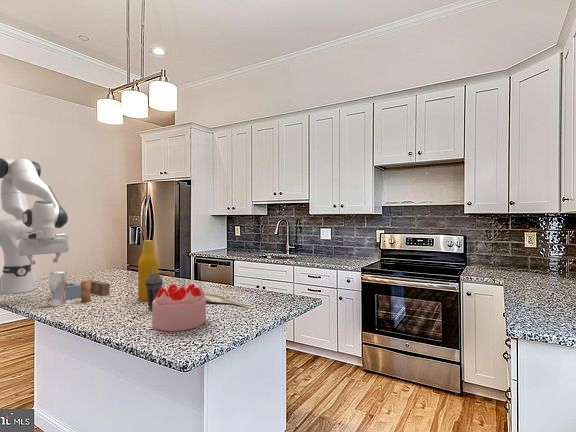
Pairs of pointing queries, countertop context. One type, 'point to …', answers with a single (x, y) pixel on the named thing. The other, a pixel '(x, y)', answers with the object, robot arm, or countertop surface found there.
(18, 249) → the robot arm
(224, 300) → the spoon
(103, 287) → the backstop wall
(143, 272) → the beer bottle
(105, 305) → the countertop surface
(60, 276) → the beer glass
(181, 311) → the cake
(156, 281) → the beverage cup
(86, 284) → the dowel
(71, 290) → the socket block
